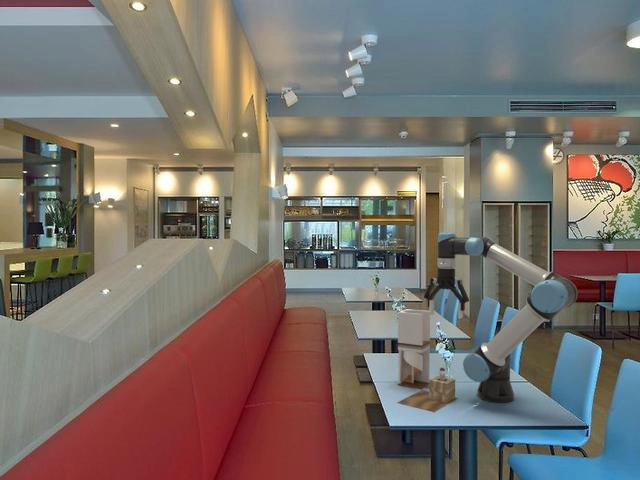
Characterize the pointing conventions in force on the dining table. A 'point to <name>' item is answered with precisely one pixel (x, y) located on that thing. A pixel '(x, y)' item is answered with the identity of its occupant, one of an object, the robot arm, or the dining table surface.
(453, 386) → the tan wooden cube
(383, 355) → the dining table surface
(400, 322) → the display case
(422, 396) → the board
